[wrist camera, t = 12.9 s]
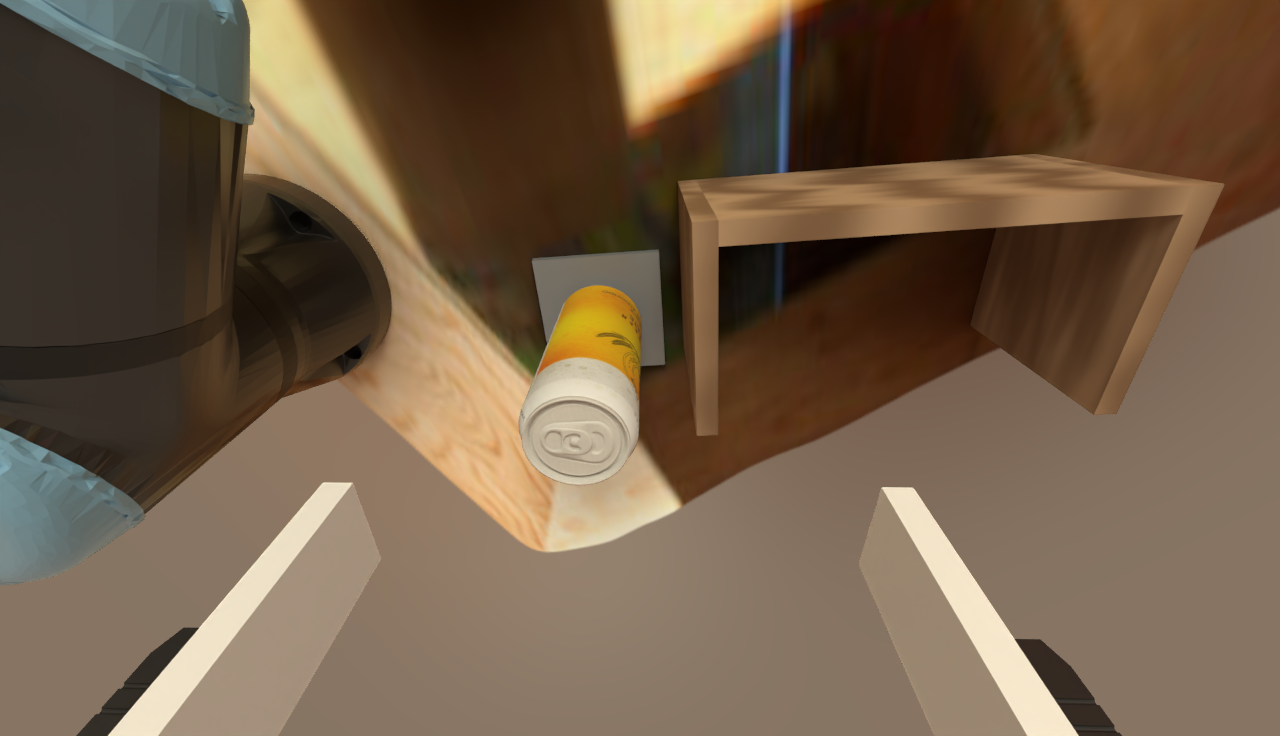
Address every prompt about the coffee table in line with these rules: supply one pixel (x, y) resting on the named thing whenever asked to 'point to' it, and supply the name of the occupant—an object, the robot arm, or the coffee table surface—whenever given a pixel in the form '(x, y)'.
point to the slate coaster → (615, 270)
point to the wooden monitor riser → (1017, 263)
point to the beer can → (586, 390)
